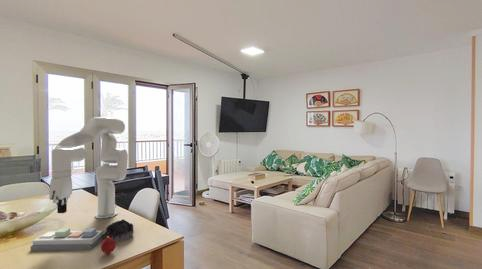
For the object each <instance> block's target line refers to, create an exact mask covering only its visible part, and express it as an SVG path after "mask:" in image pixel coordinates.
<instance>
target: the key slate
mask: <svg viewBox="0 0 482 269" xmlns="http://www.w3.org/2000/svg"><path fill="white" fill-rule="evenodd" d="M82 231H83V237H92V236H94V235H95V234H96V233H97V231H98V230H97V227H88V228H85V230H82Z"/></svg>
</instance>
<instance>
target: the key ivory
mask: <svg viewBox="0 0 482 269" xmlns="http://www.w3.org/2000/svg"><path fill="white" fill-rule="evenodd" d="M45 233H46V234H45ZM45 233H44V234H45V235H43V234H42V235H43V236H42V235H40V236H41V239H48V238H52V237H54V236H55V233H47V232H45Z"/></svg>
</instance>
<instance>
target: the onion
mask: <svg viewBox="0 0 482 269" xmlns="http://www.w3.org/2000/svg"><path fill="white" fill-rule="evenodd" d="M116 243H117V242H115V241H114V240H113V239H112V238H110V237H109V236H107V238H106V239H105V238H104V240H103V241H102V242H101V244H100V250H101V252H103V253H104V254H106V255H110V254H111V253H113V252H114V251H115V249H116V246H117V245H116Z"/></svg>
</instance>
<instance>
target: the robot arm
mask: <svg viewBox="0 0 482 269" xmlns="http://www.w3.org/2000/svg"><path fill="white" fill-rule="evenodd" d="M125 128H126V125H125V123H124V121H122V120H121V119H118V118H114V117H110V116H95V117H91V118H90V119H89V120H88V121H87V122H86V124H85V125H84V126H83V127H82V128H80V130H79V131H78V132H75V133H73V134H71V135H68V136H67V137H65V138H64V139H61V141H59V142H58V144H57V145H56V146H55V147H54V148H53V149H52V150H51V179H50V184H49V190H48V191H49V193H48V196H49V197H48V199H49V200H52V203H53V204H56V206H57V207H56V208H57V214H65V213H67V210H68V209H67V206H68V199H69V198H70V197H71V195H72V194H73V179H72V162H73V163H74V162H82V161H83V160H84V159H85V158H86V157H87V151H86V149H85V148H84V147H82V146H85V145H88V144H92V143H93V142H94V141H95V140H96V139H97V137H98V136H100V139H101V146H100V147H101V148H100V161H101V162H102V163H105V165H99V166H98V167H97V168H96V170H95V177H96V183H97V184H96V185H97V212H96V213H95V214H94V218H96V219H109V217H110V218H113V217H116V216H118V214H117V213H118V211H117V210H116V208H117V204H116V193H115V192H116V186H115V183H114V182H113V181H116V182H117V181H123V180H124V181H125V179H126V177H127V170H128V161H129V154H128V151H127V149H125V148H123V147H122V148H121V147H117V146H118V145H117V144H118V142H117V138H116V137H115V135H116V134H117V135H118V134H120V135H121V134H122V133H124V132H125ZM114 134H115V135H114ZM107 164H108V165H107ZM109 164H111V165H109ZM113 164H115V165H113ZM115 215H116V216H115Z"/></svg>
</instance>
